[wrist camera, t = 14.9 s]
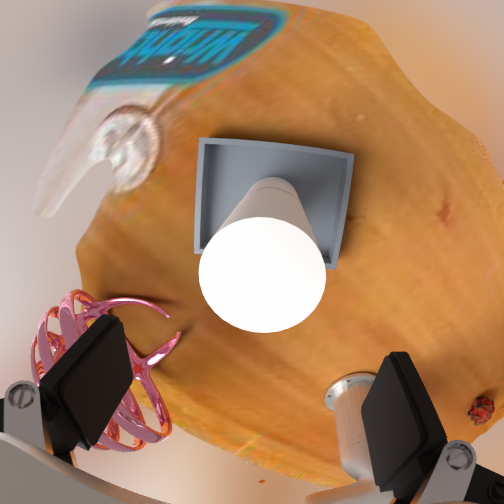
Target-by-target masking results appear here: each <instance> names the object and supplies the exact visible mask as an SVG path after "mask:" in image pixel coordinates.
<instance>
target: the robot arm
mask: <svg viewBox="0 0 504 504" xmlns="http://www.w3.org/2000/svg"><path fill="white" fill-rule="evenodd" d="M132 381H133V371H132V367H131V362H130V358H129V353H128V348H127V343H126V338H125V333H124V327H123V323H122V322H120V320H119V318H118V317H116V316H112V315H108V314H102V315H101V316H100V317H99V318H98V319H97V320H96V321H95V322H94V323H93V324H92V325H91V326H90V327H89V328H88V329H87V330H86V331H85V332H84V333H83V334H82V335H81V336H80V337H79V338H78V339H77V341H76V342H75V343H74V344H73V345H72V346H71V347H70V348H69V349H68V350H67V351H66V352H65V353H64V354H63V355H62V357H61V358H60V359H59V360H58V361H57V362H56V363H55V364H54V365H53V366H52V367H51V369H50V370H49V371H48V372H47V373H46V374H45V375H44V376H43V378H42V379H41V380H40V381H39V382H40V385H39V386H38V387H37V386H36V385H35V384H34V383H32V382H30V381H18V382H16V383H14V384H12V385H11V386H10V387H9V388H8V389H7V391H6V393H5V398H3V399H0V504H169V503H166V502H162V501H159V500H156V499H152V498H149V497H146V496H143V495H140V494H137V493H134V492H132V491H129V490H126V489H124V488H121V487H118V486H116V485H113V484H111V483H109V482H106V481H104V480H102V479H100V478H97V477H95V476H93V475H91V474H89V473H86V472H84V471H82V470H80V469H78V465H77V462H76V458H75V454H74V451H73V450H74V448H75V447H76V445H77V446H79V447H81V448H83V449H85V450H88V451H89V449H90V447H91V446H94V445H96V444H97V442H98V440H99V438H100V437H101V435H102V433H103V431H104V430H105V428H106V426H107V424H108V423H109V421H110V419H111V417H112V416H113V414H114V412H115V411H116V409H117V407H118V405H119V404H120V402H121V400H122V399H123V397H124V395H125V394H126V392H127V390H128V389H129V387H130V385H131V384H132ZM325 403H326V406H327V407H328V408H329V409H330V410H332V411H334V415H335V422H336V429H337V437H338V445H339V453H340V462H341V466H342V468H343V470H344V471H345V472H346V473H347V474H348V475H349V476H351V477H352V478H354V479H356V480H357V481H358V482H356V483H353V484H350V485H347V486H343V487H339V488H334V489H330V490H325V491H320V492H317V493H313V494H311V495H308V496H307V497H306V498H305V499H304V500H303V502H302V504H504V476H502V475H500V474H497V473H495V472H493V471H491V470H489V469H487V468H484V467H482V466H480V465H478V464H476V452H475V451H474V449H473V447H472V446H471V445H470V444H469V443H467V442H465V441H462V440H453V441H450V442H449V443H448V442H447V439H446V438H447V436H446V433H445V431H444V428H443V426H442V424H441V421H440V419H439V417H438V415H437V412H436V410H435V408H434V406H433V403H432V401H431V399H430V397H429V395H428V393H427V391H426V388H425V386H424V384H423V382H422V380H421V378H420V376H419V374H418V372H417V370H416V368H415V366H414V364H413V362H412V360H411V358H410V356H409V354H408V353H407V352H391V353H390V354H389V356H386V357H385V358H384V360H383V362H382V365H381V367H380V369H379V371H378V373H377V376H375V375H373V374H370V373H354V374H351V375H347V376H345V377H342V378H341V379H339V380H337V381H336V382H334V383H333V384H332V385H331V386H330V387H329V388H328V389H327V391H326V393H325Z"/></svg>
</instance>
